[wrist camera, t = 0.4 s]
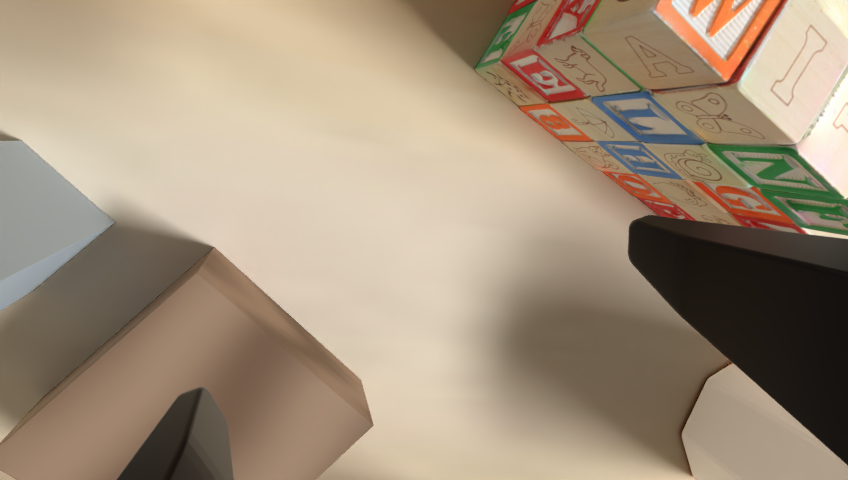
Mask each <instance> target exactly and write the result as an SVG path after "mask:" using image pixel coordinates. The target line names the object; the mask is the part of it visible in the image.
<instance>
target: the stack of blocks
mask: <svg viewBox="0 0 848 480" xmlns="http://www.w3.org/2000/svg"><path fill="white" fill-rule="evenodd" d="M475 71H476V72H477V73H478V74H479V75H480V76H482V77H483V78H484V79H485V80H487V81H488V82H489V83H491V84H492V85H493V86H494V87H496V88H497V89H498V90H499V91H500V92H502V93H503V94H504V95H505V96H507V97H508V98H509V99H510V100H512V101H513V102H514V103H515V104H517V105H518V106H519V108H520V109H521V110H522V111H523V112H524V113H525V114H527V115H528V116H529V117H531V118H532V119H533V120H534V121H536V122H537V123H538V124H539V125H541V126H542V127H543V128H544V129H546V130H547V131H548V132H550V133H551V134H552V135H553V136H555V137H556V138H557V139H559V140H560V141H561V142H562V143H563V144H565V145H566V146H567V147H568V148H569V149H571V150H572V151H573V152H574V153H576V154H577V155H578V156H580V157H581V158H582V159H583V160H585V161H586V162H587V163H589V164H590V165H591V166H592V167H594V168H595V169H596V170H599V171H603V172H604V173H605V174H606V175H607V176H609V177H610V178H611V179H613V180H614V181H615V182H616V183H617V184H619V185H620V186H621V187H623V188H624V189H625V190H626V191H628V192H629V193H630V194H632V195H633V196H635V197H637V198H638V199H640V200H641V201H642V202H643V203H645V204H646V205H647V206H648V207H650V208H651V209H652V210H653V211H655V212H656V213H657V214H658V215H660V216H661V217H669V218H677V219H686V220H694V221H702V222H711V223H719V224H727V225H736V226H744V227H752V228H761V229H769V230H777V231H785V232H794V233H802V234H810V235H819V236H827V237H835V238H844V239H848V0H516V1H515V3H514V4H513V6H512V8H511V9H510V11H509V12H508V16H507V17H506V19H505V21H504V23H503V24H502V26H501V27H500V29H499V31H498V32H497V34H496V35H495V37H494V39H493V40H492V42H491V43H490V45H489V47H488V48H487V50H486V52H485V53H484V55H483V56H482V58H481V60H480V61H479V63H478V64H477V66H476V67H475Z"/></svg>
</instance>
